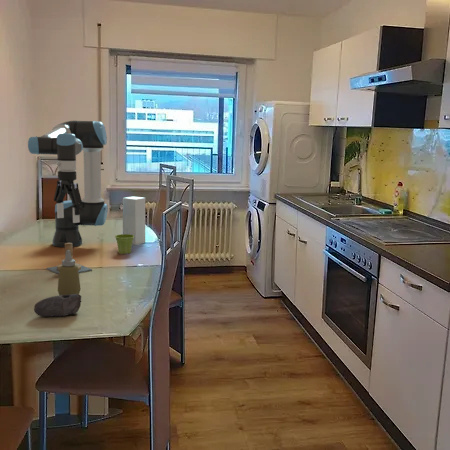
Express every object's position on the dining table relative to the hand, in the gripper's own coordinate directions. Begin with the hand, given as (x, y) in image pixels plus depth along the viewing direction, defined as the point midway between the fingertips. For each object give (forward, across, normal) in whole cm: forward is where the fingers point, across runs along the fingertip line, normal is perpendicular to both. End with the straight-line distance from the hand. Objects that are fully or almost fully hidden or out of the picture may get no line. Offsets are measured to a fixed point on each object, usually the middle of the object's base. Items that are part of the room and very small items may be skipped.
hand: (68, 220), depth 219 cm
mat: (+22, 0, 0) cm, 22 cm away
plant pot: (+22, -12, +37) cm, 45 cm away
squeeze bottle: (+22, +35, -19) cm, 46 cm away
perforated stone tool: (+22, +48, -30) cm, 61 cm away
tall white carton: (+23, -28, +54) cm, 65 cm away
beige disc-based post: (+21, 0, 0) cm, 21 cm away
